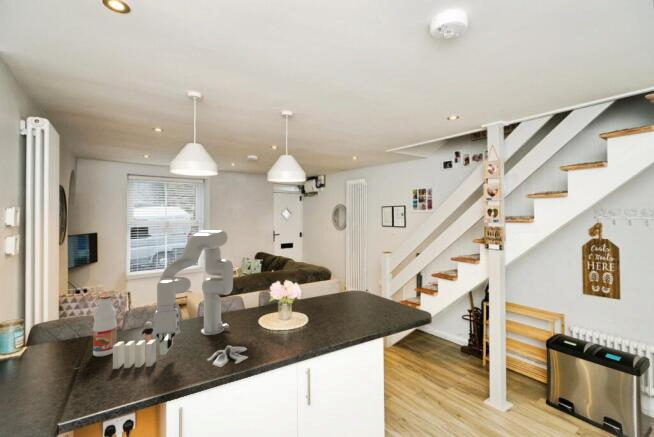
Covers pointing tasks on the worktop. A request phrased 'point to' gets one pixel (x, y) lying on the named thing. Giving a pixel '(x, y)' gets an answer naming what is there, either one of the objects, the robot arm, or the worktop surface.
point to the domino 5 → (164, 346)
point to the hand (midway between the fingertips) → (166, 347)
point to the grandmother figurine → (148, 332)
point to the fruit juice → (104, 327)
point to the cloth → (228, 355)
